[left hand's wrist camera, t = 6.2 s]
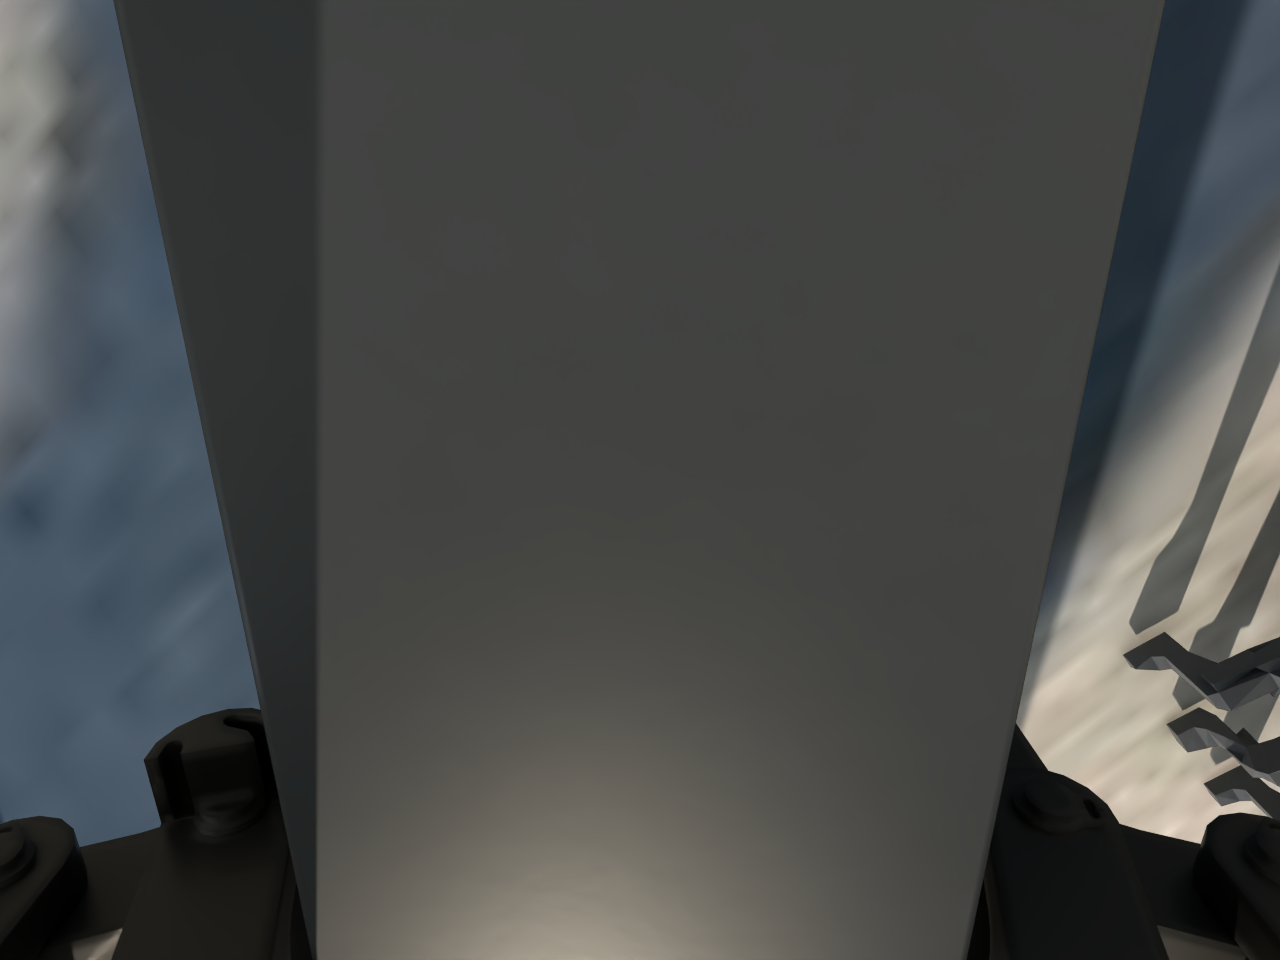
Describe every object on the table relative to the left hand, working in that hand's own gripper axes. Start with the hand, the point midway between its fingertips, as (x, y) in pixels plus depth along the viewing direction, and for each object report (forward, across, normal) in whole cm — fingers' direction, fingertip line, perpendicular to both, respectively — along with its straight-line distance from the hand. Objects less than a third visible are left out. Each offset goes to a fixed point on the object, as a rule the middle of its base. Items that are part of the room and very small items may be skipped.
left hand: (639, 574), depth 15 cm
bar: (+1, 0, -8) cm, 8 cm away
